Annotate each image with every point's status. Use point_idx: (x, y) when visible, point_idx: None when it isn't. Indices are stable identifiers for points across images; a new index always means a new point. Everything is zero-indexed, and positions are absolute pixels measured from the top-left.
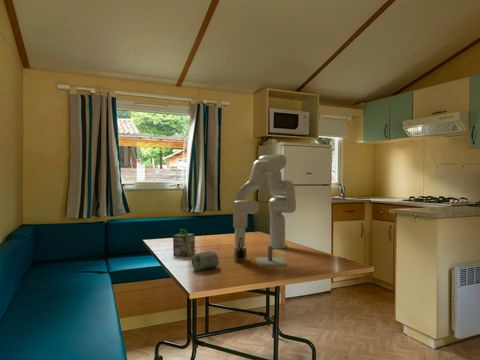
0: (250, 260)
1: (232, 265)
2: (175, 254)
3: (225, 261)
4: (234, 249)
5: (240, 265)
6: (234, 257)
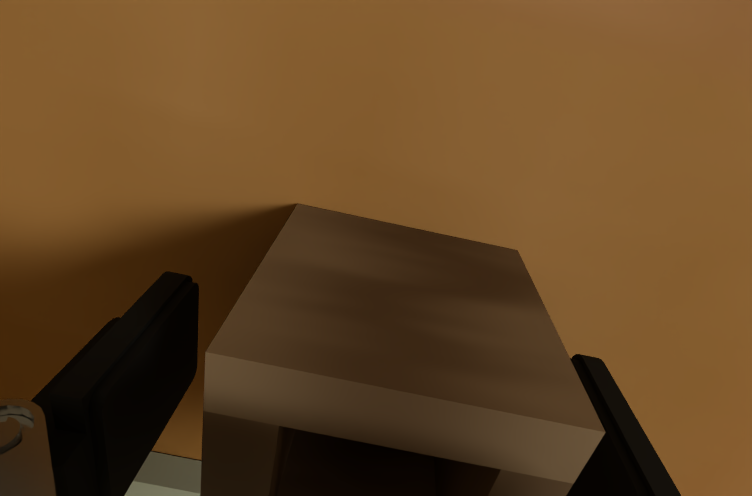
0: None
1: (5, 77)
2: None
3: (377, 6)
4: (523, 388)
5: (20, 221)
6: (479, 261)
